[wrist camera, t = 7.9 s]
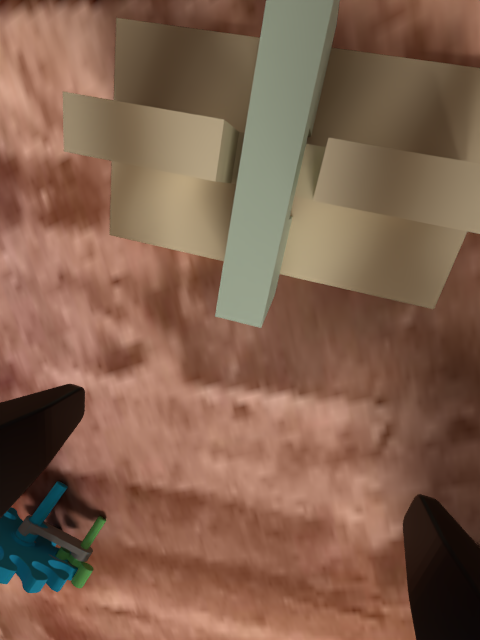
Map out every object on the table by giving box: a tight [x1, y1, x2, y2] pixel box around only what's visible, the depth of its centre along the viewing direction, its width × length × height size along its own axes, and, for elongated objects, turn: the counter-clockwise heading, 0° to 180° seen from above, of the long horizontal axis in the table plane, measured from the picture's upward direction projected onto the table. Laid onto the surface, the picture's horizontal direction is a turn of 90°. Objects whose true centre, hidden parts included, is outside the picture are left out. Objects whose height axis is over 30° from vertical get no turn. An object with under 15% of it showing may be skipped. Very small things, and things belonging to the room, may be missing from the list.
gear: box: [0, 481, 106, 593], centre depth 27 cm, size 11×6×10 cm
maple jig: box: [63, 18, 480, 309], centre depth 14 cm, size 18×10×6 cm, turn 79°
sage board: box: [215, 0, 340, 328], centre depth 14 cm, size 2×12×5 cm, turn 170°
